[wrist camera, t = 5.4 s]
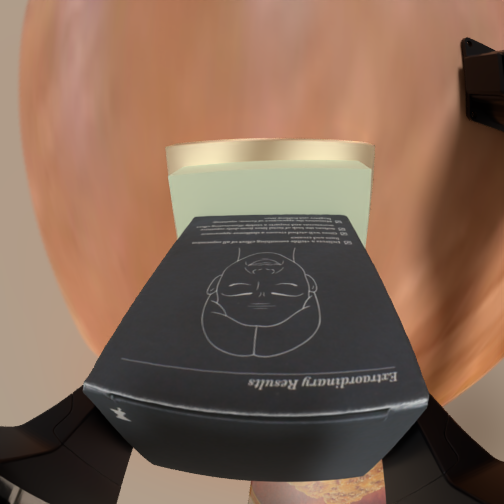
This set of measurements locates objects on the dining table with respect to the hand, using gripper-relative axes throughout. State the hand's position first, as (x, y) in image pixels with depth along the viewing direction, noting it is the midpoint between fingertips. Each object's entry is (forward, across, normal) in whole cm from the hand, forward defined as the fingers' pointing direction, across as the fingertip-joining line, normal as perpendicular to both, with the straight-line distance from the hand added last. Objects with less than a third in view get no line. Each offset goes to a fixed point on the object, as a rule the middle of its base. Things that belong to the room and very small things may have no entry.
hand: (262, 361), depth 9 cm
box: (+7, 0, 0) cm, 7 cm away
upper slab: (+9, 0, 0) cm, 9 cm away
